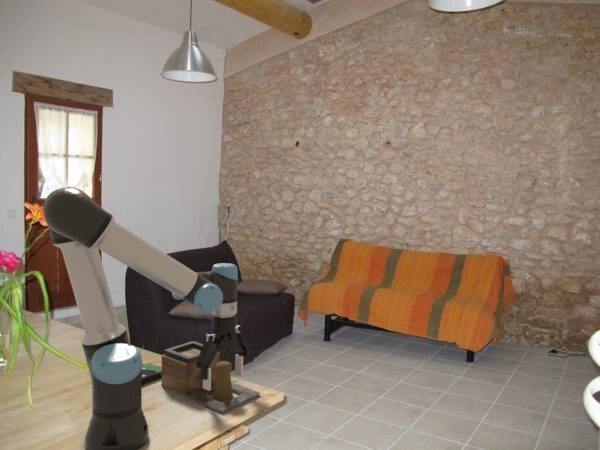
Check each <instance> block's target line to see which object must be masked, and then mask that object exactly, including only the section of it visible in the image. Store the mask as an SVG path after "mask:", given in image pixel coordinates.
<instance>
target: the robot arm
mask: <svg viewBox="0 0 600 450" xmlns="http://www.w3.org/2000/svg"><path fill="white" fill-rule="evenodd" d="M42 212H43V213H42V214H43V217H44V220H45V223H46V225H47V228H48V231H49V236H50V239H51V242H52V245H53V246H55V247H57V248H58V249H60V251H61V253H62V257H63V260H64V265H65V267H66V271H67V274H68V278H69V281H70V284H71V288H72V292H73V295H74V299H75V302H76V305H77V309H78V311H79V316H80V319H81V323H82V326H83V331H84V333H85V334H84V335H83V337H82V338H81V346H82V348H83V349H82V350H83V352H84V355H85V360H86V364H87V367H88V370H89V375H90V379H91V387H92V388H91V389H92V390H91V391H92V393H91V395H92V396H91V397H92V398H91V400H92V403H91V404H92V414H91V418H90V421H89V424H88V427H87V429H86V430H87V431H86V433H85V436H84V447H85V449H86V450H139V449H141V448H142V447H143V446H144V445H146V444H147V442H148V440H149V435H150V434H149V425H148V423H147V420H146V415H145V414H144V412H143V408H142V406H143V405H142V401H143V400H142V395H143V394H142V386H143V385H142V364H143V359H142V352H141V351H140V349H138V347H136V346H135V345H131V343H130V339H129V335H128V332H127V328H126V326H125V325H123V324H120V323H119V321H118V317H117V313H116V309H115V307H114V303H113V302H114V301H113V299H112V296H111V292H110V291H111V290H110V287H109V284H108V280H107V276H106V273H105V269H104V266H103V262H102V258H101V254H100V251H101V252H103V253H105V254H107V255H108V256H110V257H111V258H113V259H115V260H117V261H118V262H120V263H122V264H123V265H125V266H127V267H129V268H131V269H132V270H133V271H136V272H137V273H139V274H140V275H142V276H144V277H146V278H147V279H149V280H150V281H152V282H154V283H155V284H158V285H159V286H161V287H163V288H164V289H166V290H168V291H170V292H171V296H172V297H173V299H175V300H176V301H177V300H178V301H179V300H182V301H187V302H188V303H189V304H191V305H193V306H194V307H195V308H196V309H198V310H199V311H202V312H203V313H211V314H212V315H211V327H212V330H213V332H212V333H211V334H208V333H205V334H204V339H203V341H204V342H203V343H202V344H203V346H202V349H201V352H200V355H199V357H198V360H197V363H196V367H198V368H200V369H201V375H202V376H201V378H202V379H203V389H206V390H208V391H210V390H211V368H209V367H210V365H211V363H212V361H213V359H214V357H215V356H216V354H217V352H219V350H220V349H221V348H222V347H224V346H226V345H231V347H232V348H233V349H234V351H235V352H236V354H235V358H234V359H235V360H234V361H235V362H234V375H235V376H238V377H240V378H241V377H243V376H244V375H243V374H244V364H245V357H246V356H247V355H248V353H249V351H250V348H249V345H248V342H247V339H246V338H245V335H244V329H243V326H242V325H239V324H238V319H237V318H238V316H237V313H238V281H239V276H238V275H239V274H238V266H237V265H236V264H234V263H231V262H230V263H227V262H219V263H215V264H213V265H212V269H211V270H209V271H200V272H198V271H197V272H195V271H194V270H193V269H191V268H189V267H188V266H186V265H184V264H183V263H181V262H179V260H176V259H175V258H174V257H172V256H170V255H169V254H166V253H165V252H164V251H162V250H161V249H159V248H158V247H156V246H154V245H152V244H151V243H149V242H147V241H146V240H145V239H143V238H142V237H140V236H138V235H137V234H135V233H134V232H132V231H130V230H129V229H127V228H126V227H124V226H122V225H121V224H119V223H118V222H116V221H115V217H114V215H113V214H111V213H110V212H108V211H107V210H105V209H104V208H103V207H101V206H100V205H99V204H98V203H96V201H95V200H93V199H92V198H91V196H90V195H88V194H87V193H86V192H85V191H83V190H82V189H80V188H77V187H74V186H73V187H72V186H67V187H61V188H57V189H54V190H53V191H51V192H50V193H49V194H48V195H47V197H46V198H45V200H44V203H43V207H42ZM205 364H206V365H205Z"/></svg>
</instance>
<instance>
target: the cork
mask: <svg viewBox="0 0 600 450" xmlns="http://www.w3.org/2000/svg"><path fill="white" fill-rule="evenodd" d="M232 370H233V364H232V363H231V362H230V361H227V360H221V361H220V362H218V363H217V364H216V366H215V371H216V373H217V376H216V382H215V389H214V393H213V397H212V399H214V400H217V401H219V402H226V401H228V400H230V399H233V398H234V396H233V395H234V394H233V393H234V392H232V384H231V382H232V378H231V373H232Z"/></svg>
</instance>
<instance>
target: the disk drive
mask: <svg viewBox="0 0 600 450" xmlns="http://www.w3.org/2000/svg"><path fill="white" fill-rule="evenodd" d="M159 379H162V366H159V365H155V364H153V363H151V362H148V363H145V364H144V363H142V386H144V385H147V384H148V383H151V381H152V382H154V381H157V380H159Z"/></svg>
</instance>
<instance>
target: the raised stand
mask: <svg viewBox="0 0 600 450" xmlns="http://www.w3.org/2000/svg"><path fill="white" fill-rule="evenodd" d="M202 346H203V343H200V342H198V341H194V340H191V341H189V342H185V343H183V344H178V345H176V346H173V347H168V348H167V349H164V350H163V354H161V367H162V378H161V386H162V387H165V388H167V389H169V390H171V391H174V392H175V393H178V394H181V395H182V396H185V397H186V395H187V394H189V393H192V392H194V391H196V390H199V389H201V388H203V379H202V378H201V376H202V375H201V369H200V368H198V367H196V363H197V360H198V357H199V355H200V352H201V349H202ZM220 353H221V352H219V351H218V352H217V354H216V356H215V357H214V359H213V361H212V363H211V365H210V367H209V368H211V384H213V383H215V382H216V376H217V373H216V371H215V366H216V364H217V363H218V362H220V359H221V358H220V357H221V354H220ZM205 365H206V364H205Z"/></svg>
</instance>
